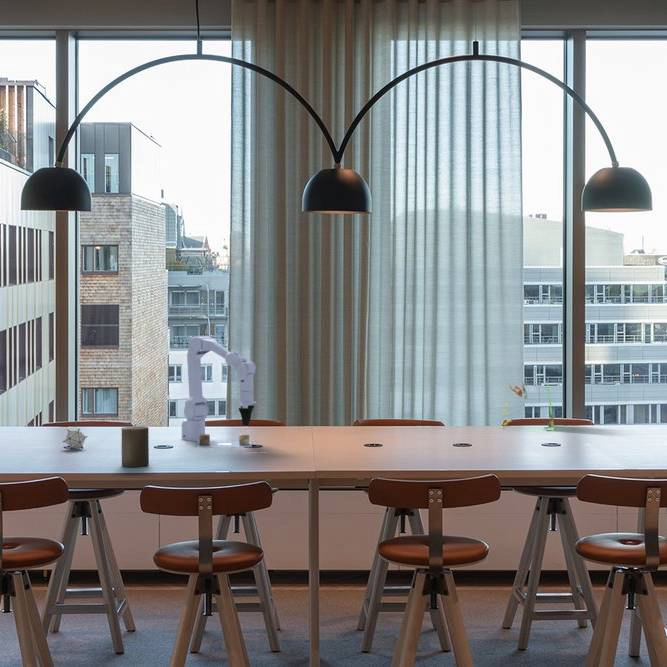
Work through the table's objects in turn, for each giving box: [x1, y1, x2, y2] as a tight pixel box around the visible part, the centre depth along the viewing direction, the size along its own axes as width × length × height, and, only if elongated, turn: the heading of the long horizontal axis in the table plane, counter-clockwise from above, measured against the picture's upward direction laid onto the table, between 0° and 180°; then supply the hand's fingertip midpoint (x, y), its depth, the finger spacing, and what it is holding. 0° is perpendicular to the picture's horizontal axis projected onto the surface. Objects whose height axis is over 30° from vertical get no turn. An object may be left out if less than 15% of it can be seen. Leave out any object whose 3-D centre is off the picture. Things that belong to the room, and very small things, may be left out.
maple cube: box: [238, 433, 250, 445], centre depth 433 cm, size 4×4×4 cm
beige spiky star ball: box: [62, 428, 89, 451], centre depth 423 cm, size 9×8×10 cm
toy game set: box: [499, 380, 555, 432], centre depth 493 cm, size 22×25×24 cm
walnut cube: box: [199, 433, 211, 446], centre depth 432 cm, size 4×4×4 cm
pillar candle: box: [121, 425, 150, 468], centre depth 383 cm, size 10×10×15 cm
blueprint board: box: [196, 441, 253, 449], centre depth 433 cm, size 22×15×1 cm
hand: (246, 424), depth 434 cm, fingers open, 7 cm apart
